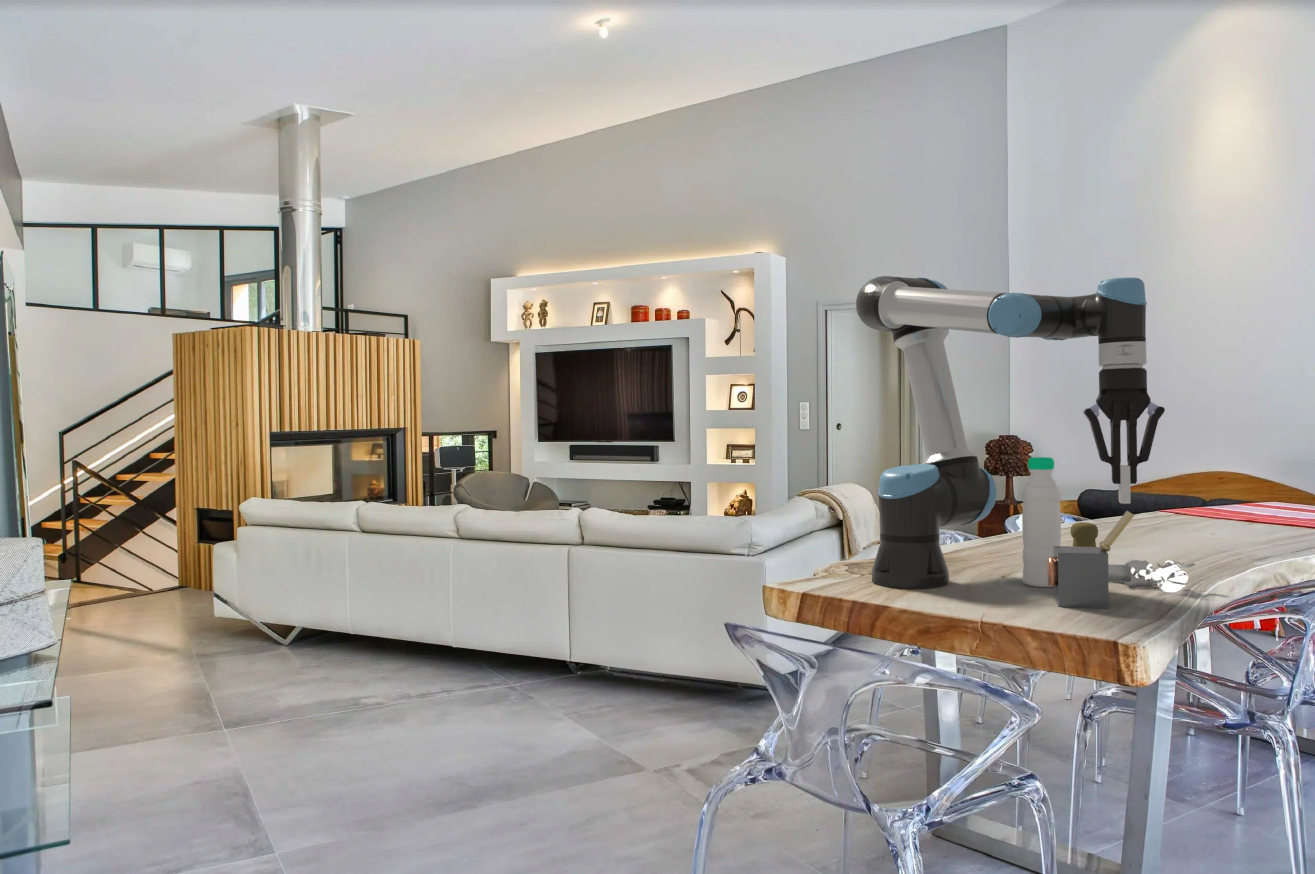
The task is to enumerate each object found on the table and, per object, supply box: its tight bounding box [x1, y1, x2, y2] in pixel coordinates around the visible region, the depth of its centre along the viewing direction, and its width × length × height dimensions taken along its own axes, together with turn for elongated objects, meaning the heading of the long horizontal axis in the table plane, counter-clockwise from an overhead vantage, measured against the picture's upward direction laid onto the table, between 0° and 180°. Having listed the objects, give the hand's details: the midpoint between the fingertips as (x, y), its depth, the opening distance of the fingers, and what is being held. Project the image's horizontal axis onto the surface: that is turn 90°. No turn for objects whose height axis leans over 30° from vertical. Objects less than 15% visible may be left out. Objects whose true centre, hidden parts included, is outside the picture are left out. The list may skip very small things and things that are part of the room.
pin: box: [1047, 557, 1131, 586], centre depth 169 cm, size 13×5×5 cm, turn 73°
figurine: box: [1123, 559, 1196, 593], centre depth 181 cm, size 9×6×12 cm
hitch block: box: [1053, 545, 1110, 609], centre depth 170 cm, size 8×8×10 cm
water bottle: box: [1021, 456, 1062, 588], centre depth 187 cm, size 7×7×25 cm
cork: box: [1070, 521, 1099, 547], centre depth 195 cm, size 6×6×11 cm
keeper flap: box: [1098, 510, 1135, 553], centre depth 168 cm, size 8×4×1 cm
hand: (1124, 502), depth 167 cm, fingers closed
